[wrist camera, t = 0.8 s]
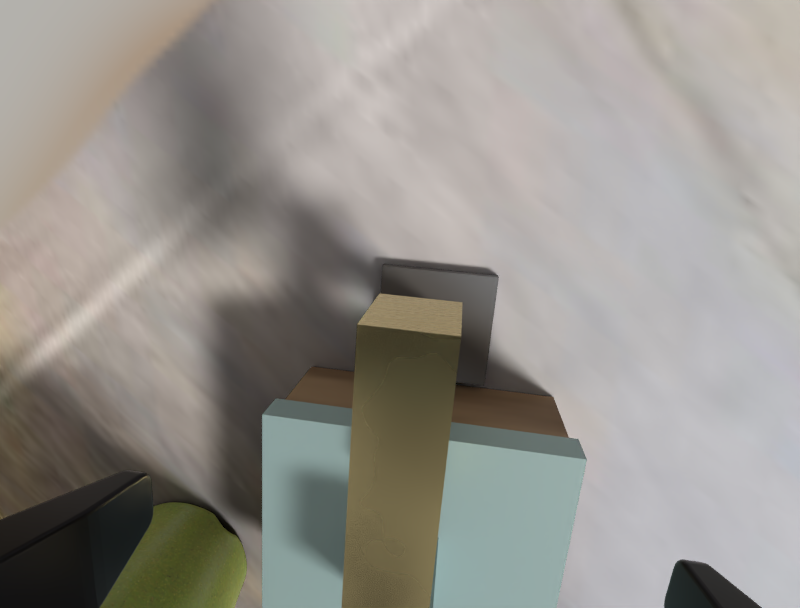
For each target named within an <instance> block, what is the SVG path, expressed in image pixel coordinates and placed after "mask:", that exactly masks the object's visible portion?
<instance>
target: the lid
mask: <svg viewBox="0 0 800 608" xmlns="http://www.w3.org/2000/svg"><path fill="white" fill-rule="evenodd" d="M351 425H352V409H351V408H344V407H336V406H329V405H322V404H314V403H307V402H299V401H292V400H285V399H277V398H276V399H275V400H274V401H273V402H272V404H271V405H270V406H269V407H268V408H267V409H266V411H265V412H264V413H263V414H262V608H341V607H342V589H343V571H344V553H345V534H346V516H347V498H348V480H349V462H350V443H351ZM586 461H587V459H586V456H585V454H584V452H583V449H582V447H581V444H580V442H579V440H578V439H574V438H566V437H559V436H552V435H544V434H537V433H529V432H522V431H514V430H507V429H500V428H492V427H485V426H477V425H470V424H463V423H455V422H451V428H450V437H449V445H448V454H447V463H446V471H445V480H444V488H443V497H442V505H441V514H440V522H439V531H438V540H437V548H436V557H435V565H434V574H433V582H432V591H431V599H430V608H556V607H557V602H558V597H559V592H560V587H561V583H562V578H563V573H564V568H565V563H566V558H567V553H568V549H569V544H570V539H571V534H572V529H573V524H574V519H575V515H576V510H577V505H578V500H579V495H580V490H581V485H582V481H583V476H584V471H585V466H586Z"/></svg>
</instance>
